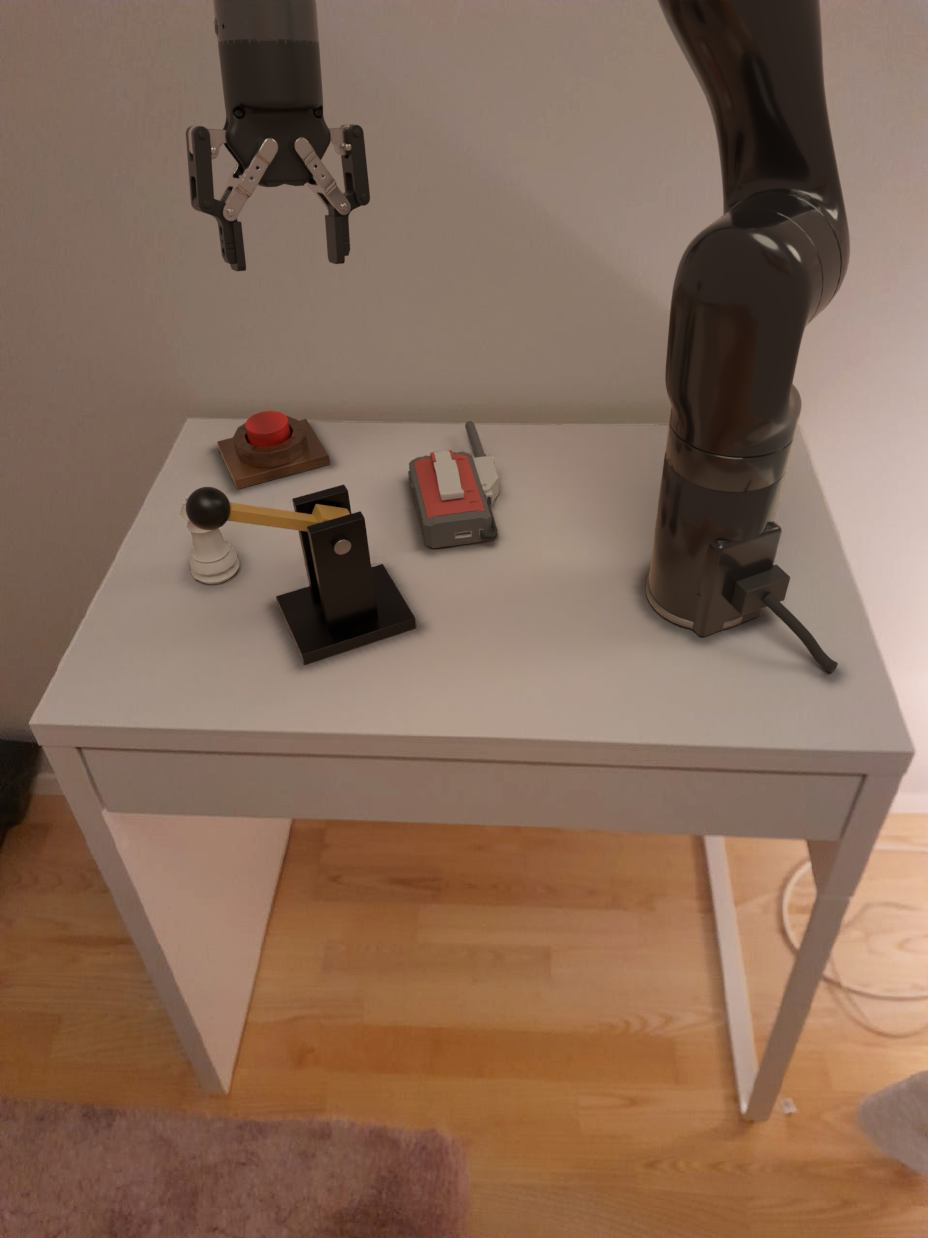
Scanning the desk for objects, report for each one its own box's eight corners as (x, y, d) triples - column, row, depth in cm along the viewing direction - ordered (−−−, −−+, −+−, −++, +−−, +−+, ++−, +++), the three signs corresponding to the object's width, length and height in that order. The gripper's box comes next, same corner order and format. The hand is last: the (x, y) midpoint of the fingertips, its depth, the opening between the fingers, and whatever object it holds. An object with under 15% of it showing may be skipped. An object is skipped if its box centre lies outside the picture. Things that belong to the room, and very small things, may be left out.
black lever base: (304, 665, 78) (280, 555, 70) (278, 606, 83) (252, 497, 75) (416, 628, 80) (405, 518, 72) (383, 573, 86) (370, 465, 78)
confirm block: (307, 427, 104) (303, 403, 102) (330, 464, 99) (326, 440, 97) (219, 450, 102) (213, 426, 99) (237, 489, 96) (231, 465, 94)
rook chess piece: (250, 570, 87) (232, 500, 81) (208, 593, 85) (187, 523, 79) (224, 548, 89) (205, 479, 84) (182, 570, 87) (160, 500, 82)
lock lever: (185, 536, 68) (197, 498, 67) (177, 511, 70) (188, 475, 69) (346, 555, 75) (359, 522, 74) (333, 533, 78) (346, 500, 76)
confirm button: (284, 421, 100) (281, 406, 99) (295, 441, 98) (293, 426, 96) (243, 431, 99) (240, 416, 98) (254, 452, 96) (251, 437, 95)
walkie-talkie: (518, 546, 88) (479, 432, 102) (518, 508, 85) (478, 396, 99) (425, 559, 87) (399, 442, 101) (422, 521, 84) (395, 406, 98)
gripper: (185, 31, 65) (216, 279, 72) (375, 36, 71) (385, 265, 78) (160, 38, 70) (192, 267, 78) (338, 43, 76) (350, 255, 84)
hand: (288, 266), depth 78 cm, fingers open, 8 cm apart
